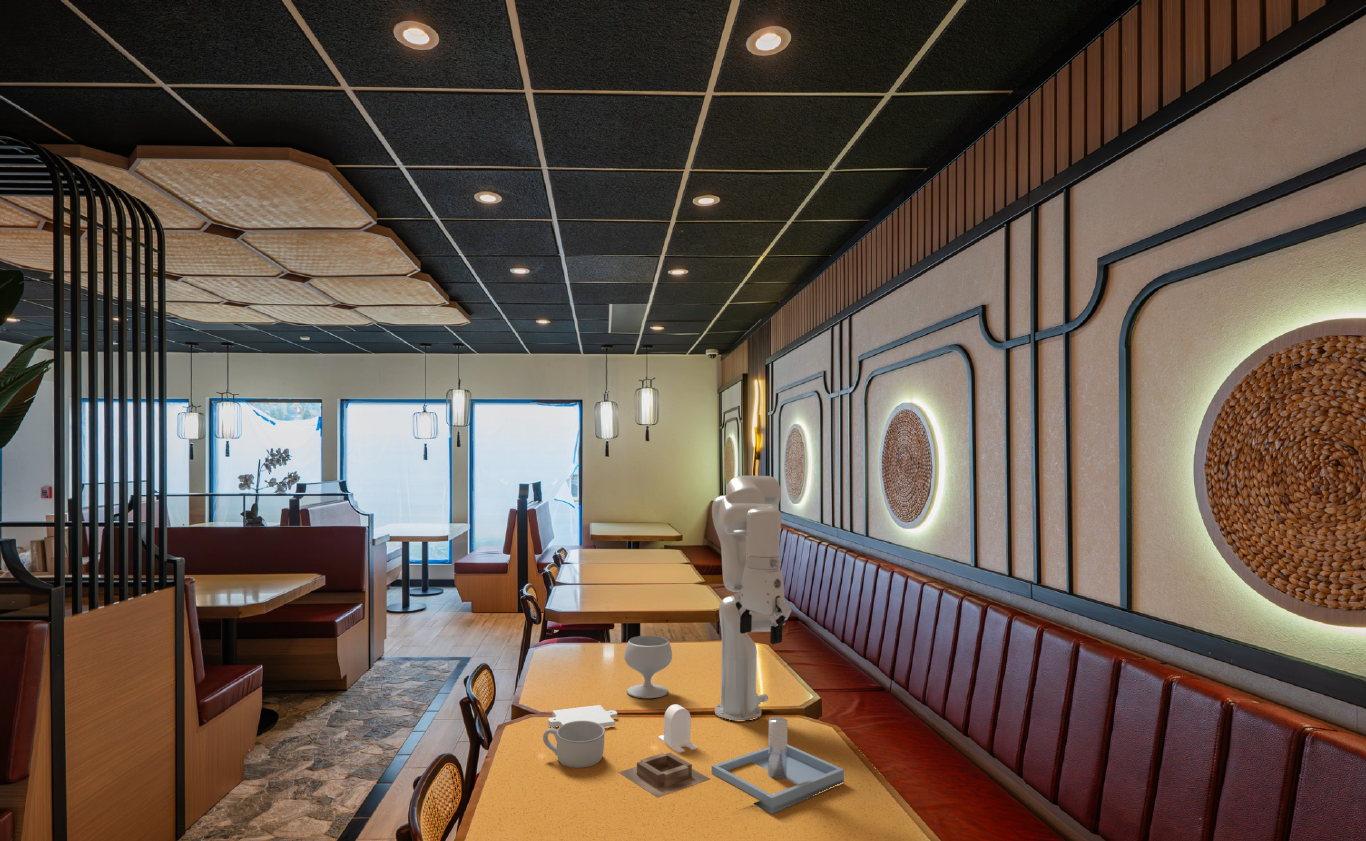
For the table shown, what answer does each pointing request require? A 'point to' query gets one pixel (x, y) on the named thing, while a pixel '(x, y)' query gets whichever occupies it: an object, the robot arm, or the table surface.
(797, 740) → the table surface
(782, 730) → the pin
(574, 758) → the teacup
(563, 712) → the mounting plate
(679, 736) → the cable organizer
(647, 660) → the chalice
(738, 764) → the tray
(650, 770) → the brown square socket base
